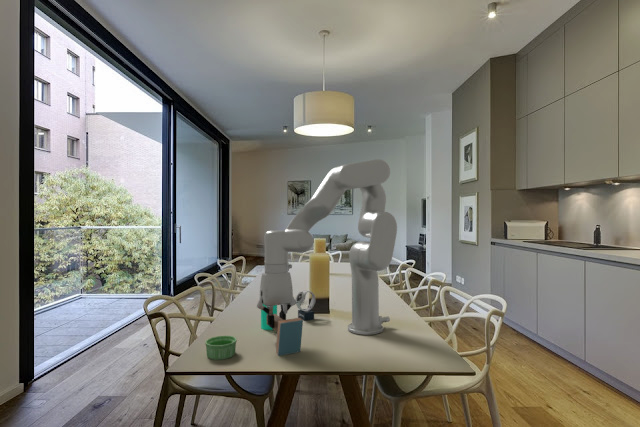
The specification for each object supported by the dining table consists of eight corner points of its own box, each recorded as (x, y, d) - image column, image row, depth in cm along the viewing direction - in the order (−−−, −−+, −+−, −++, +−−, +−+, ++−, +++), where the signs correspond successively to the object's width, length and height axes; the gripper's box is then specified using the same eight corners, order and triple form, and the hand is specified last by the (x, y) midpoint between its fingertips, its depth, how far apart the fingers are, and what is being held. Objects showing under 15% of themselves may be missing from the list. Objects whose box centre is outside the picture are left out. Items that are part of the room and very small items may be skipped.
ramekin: (207, 363, 103) (207, 347, 103) (203, 352, 111) (203, 337, 111) (239, 358, 106) (239, 342, 107) (233, 348, 115) (233, 333, 115)
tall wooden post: (279, 321, 125) (279, 313, 125) (297, 335, 112) (297, 325, 112) (262, 324, 122) (262, 315, 122) (278, 338, 109) (278, 328, 109)
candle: (274, 330, 132) (274, 296, 133) (258, 329, 134) (258, 296, 134) (279, 325, 138) (279, 293, 139) (264, 324, 140) (264, 292, 140)
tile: (297, 348, 113) (300, 317, 111) (300, 351, 111) (302, 320, 109) (276, 352, 110) (278, 320, 108) (278, 355, 108) (280, 323, 106)
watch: (293, 318, 148) (293, 290, 148) (311, 315, 152) (311, 288, 152) (300, 321, 143) (300, 293, 143) (318, 318, 147) (317, 291, 147)
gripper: (295, 265, 126) (295, 320, 126) (248, 269, 118) (248, 326, 118) (304, 268, 119) (304, 325, 119) (255, 272, 112) (255, 333, 111)
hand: (276, 325), depth 119 cm, fingers closed on tall wooden post, 3 cm apart
